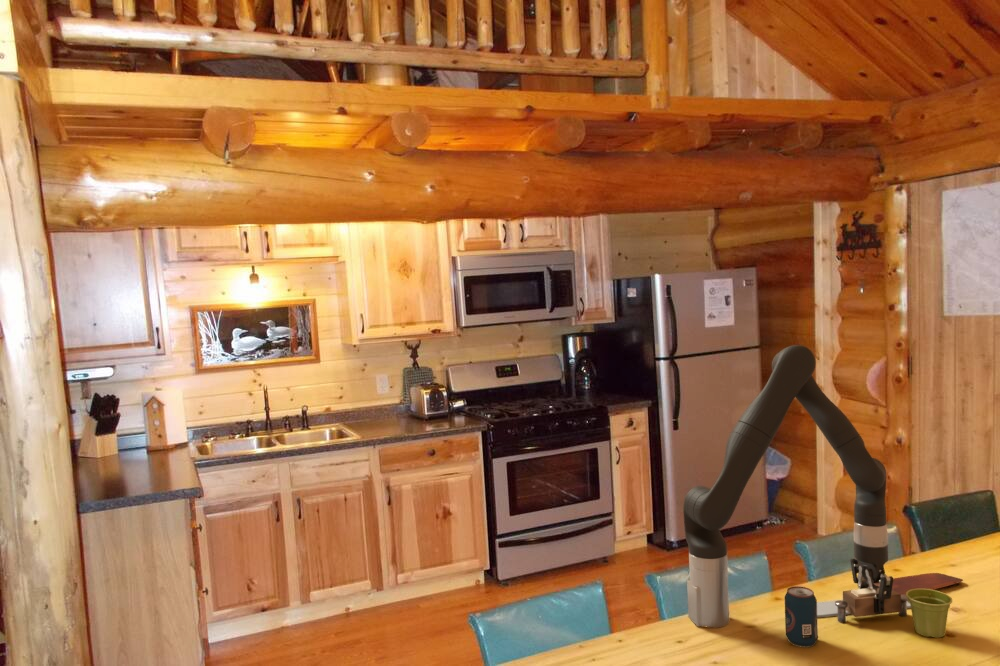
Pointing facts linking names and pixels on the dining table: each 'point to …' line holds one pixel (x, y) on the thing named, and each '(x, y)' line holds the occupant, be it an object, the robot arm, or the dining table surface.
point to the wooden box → (869, 602)
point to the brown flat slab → (922, 582)
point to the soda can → (801, 616)
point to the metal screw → (841, 610)
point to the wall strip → (832, 609)
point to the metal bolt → (903, 605)
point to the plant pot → (929, 611)
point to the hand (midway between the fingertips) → (871, 607)
